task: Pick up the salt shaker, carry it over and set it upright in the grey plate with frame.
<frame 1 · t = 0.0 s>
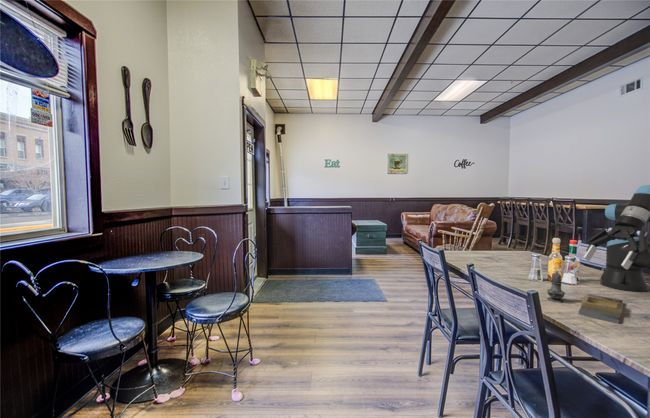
hand: (604, 263, 115), 15 cm above the table, tool tilted 35°, fingers open, 13 cm apart
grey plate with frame: (601, 308, 107), on the table
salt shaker: (555, 300, 116), on the table
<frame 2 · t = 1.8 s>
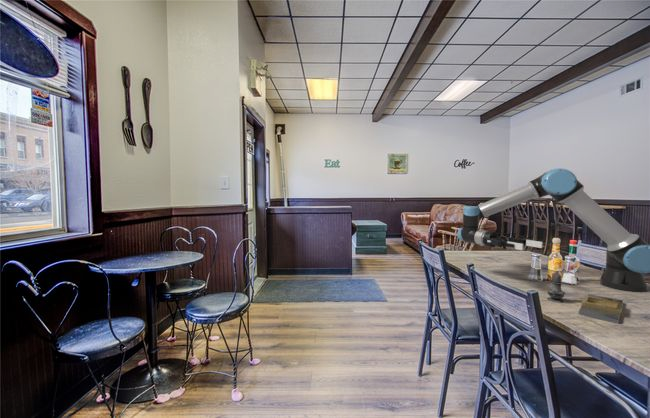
hand: (532, 246, 123), 21 cm above the table, tool horizontal, fingers open, 13 cm apart
nothing on the table moved.
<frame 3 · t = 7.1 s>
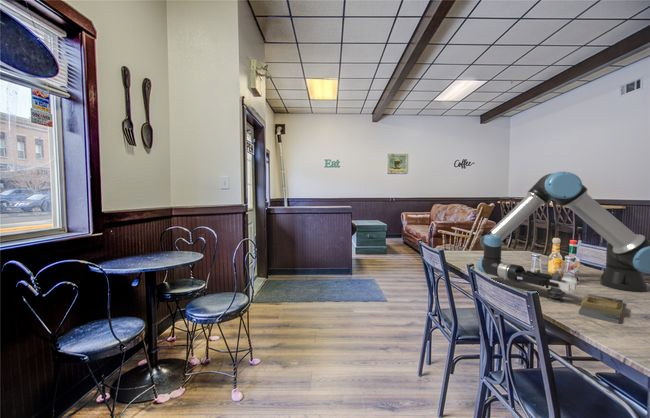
hand: (572, 287, 111), 7 cm above the table, tool horizontal, fingers closed on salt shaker, 3 cm apart
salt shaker: (555, 300, 116), on the table, touching gripper
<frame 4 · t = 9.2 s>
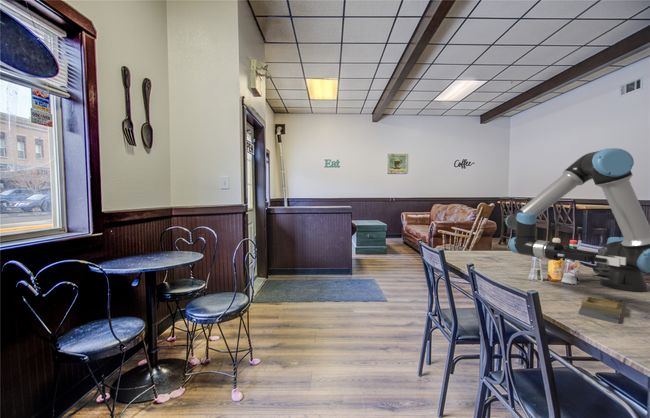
hand: (622, 262, 102), 19 cm above the table, tool horizontal, fingers closed on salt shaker, 3 cm apart
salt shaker: (602, 278, 107), point 12 cm above the table, touching gripper
when the fingers open (8 cm above the table, at t = 11.8 s): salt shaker drops 1 cm, resting in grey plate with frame.
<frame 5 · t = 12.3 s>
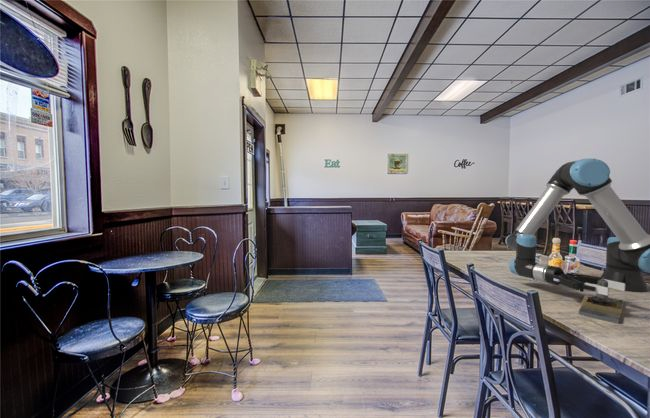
hand: (616, 289, 103), 8 cm above the table, tool horizontal, fingers open, 11 cm apart
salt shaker: (601, 309, 107), resting in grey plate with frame
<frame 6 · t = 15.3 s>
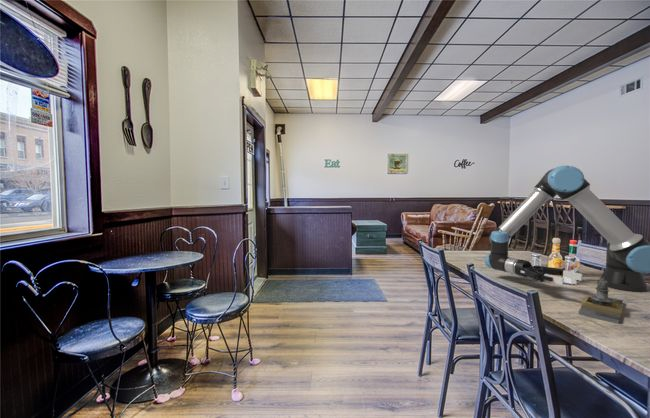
hand: (572, 279, 115), 9 cm above the table, tool horizontal, fingers open, 13 cm apart
nothing on the table moved.
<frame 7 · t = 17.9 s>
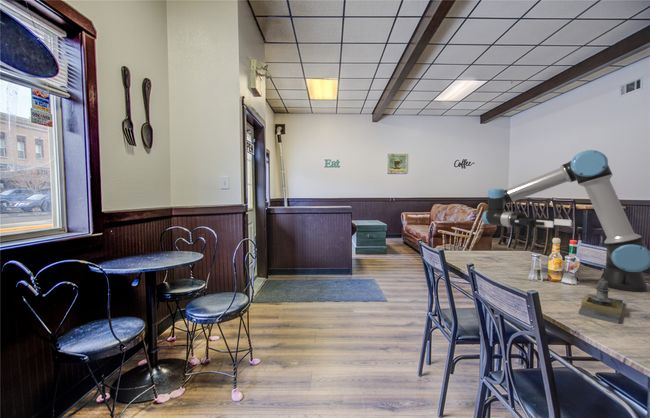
hand: (562, 223, 125), 30 cm above the table, tool horizontal, fingers open, 13 cm apart
nothing on the table moved.
at the end: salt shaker 0.0 cm off-centre on the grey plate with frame, point 0.0 cm above the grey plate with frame's base; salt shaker tilted 0°; the gripper is holding nothing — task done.
